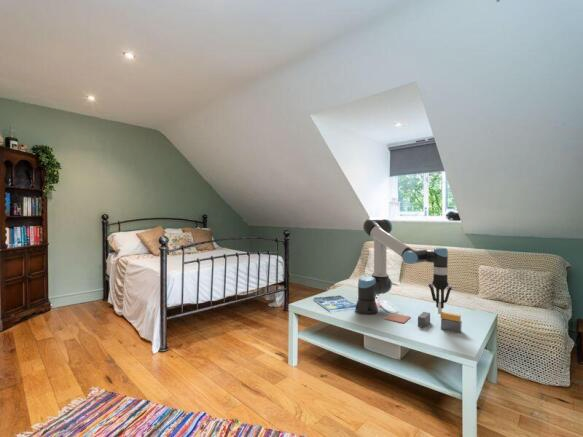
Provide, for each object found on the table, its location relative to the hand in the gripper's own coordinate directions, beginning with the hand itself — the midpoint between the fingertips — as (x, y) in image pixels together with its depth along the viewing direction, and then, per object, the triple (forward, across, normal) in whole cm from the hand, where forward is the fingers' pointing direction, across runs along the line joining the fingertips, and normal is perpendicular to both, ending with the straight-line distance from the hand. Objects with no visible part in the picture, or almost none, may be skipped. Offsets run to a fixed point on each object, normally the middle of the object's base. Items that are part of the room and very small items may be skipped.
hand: (439, 313), depth 182 cm
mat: (+9, -25, 0) cm, 26 cm away
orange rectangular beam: (+2, +6, 0) cm, 6 cm away
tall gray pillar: (+9, -9, 0) cm, 12 cm away
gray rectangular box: (+9, +6, 0) cm, 11 cm away
